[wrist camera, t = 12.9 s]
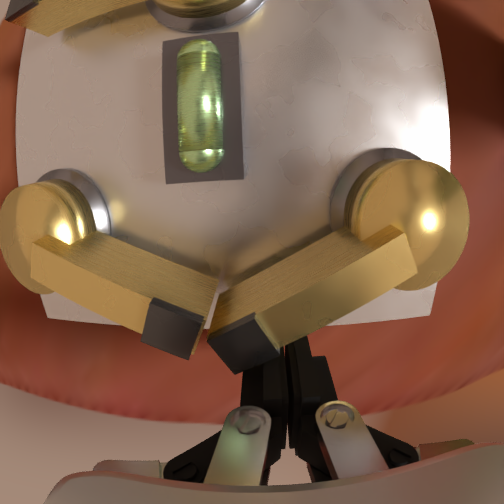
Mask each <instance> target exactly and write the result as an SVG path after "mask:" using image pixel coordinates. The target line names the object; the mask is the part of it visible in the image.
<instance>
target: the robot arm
mask: <svg viewBox="0 0 504 504" xmlns="http://www.w3.org/2000/svg"><path fill="white" fill-rule="evenodd" d="M287 423H288V435H289V447H290V449H292V448H295V455H296V456H298V457H299V458H301V459H302V460H304V461H306V462H307V463H306V464H307V469H308V472H309V476H310V479H311V482H312V483H306V484H293V485H273V486H268V480H269V475H270V469H271V468H270V466H271V465H273V464H274V463H275V462H276V461H278V460H279V459H280V456H281V449H285V445H286V433H287ZM44 504H504V443H502V442H487V443H478V444H474V443H473V442H472V441H470V440H467V439H459V440H453V441H445V442H438V443H428V444H419V445H418V447H413V446H411V445H409V444H408V443H405V442H403V441H401V440H398V439H396V438H394V437H391V436H389V435H387V434H385V433H382V432H380V431H378V430H376V429H374V428H372V427H369V426H367V425H365V423H364V421H363V419H362V418H361V416H360V414H359V412H358V410H357V409H356V408H355V407H354V406H353V405H351V404H350V403H347V402H344V401H338V399H337V395H336V391H335V388H334V384H333V381H332V377H331V374H330V370H329V367H328V363H327V360H326V357H325V356H314V357H312V355H311V351H310V346H309V342H308V338H307V335H306V336H304V337H302V338H300V339H298V340H296V341H293V342H291V343H289V344H287V345H285V356H284V347H281V348H280V356H278V357H275V358H273V359H271V360H269V361H266V362H264V363H262V364H259V365H257V366H255V367H252V368H250V369H248V370H245V371H243V377H242V390H241V402H240V407H238V408H236V409H234V410H232V411H231V412H230V413H229V414H228V415H227V417H226V419H225V422H224V425H223V428H222V430H221V431H219V432H218V433H216V434H214V435H213V436H211V437H210V438H208V439H206V440H205V441H203V442H201V443H200V444H198V445H196V446H194V447H193V448H191V449H189V450H187V451H186V452H184V453H182V454H180V455H178V456H177V457H175V458H173V459H172V460H170V461H169V462H168V463H160V462H159V460H158V461H156V460H155V461H126V460H125V461H123V460H104V461H101V462H99V463H97V465H96V466H95V467H94V468H93V471H86V472H79V473H74V474H70V475H68V476H65V477H64V478H62V479H61V480H60V481H59V482H58V483H57V484H56V485H55V486H54V488H53V489H52V491H51V492H50V494H49V495H48V497H47V499H46V500H45V502H44Z"/></svg>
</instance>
